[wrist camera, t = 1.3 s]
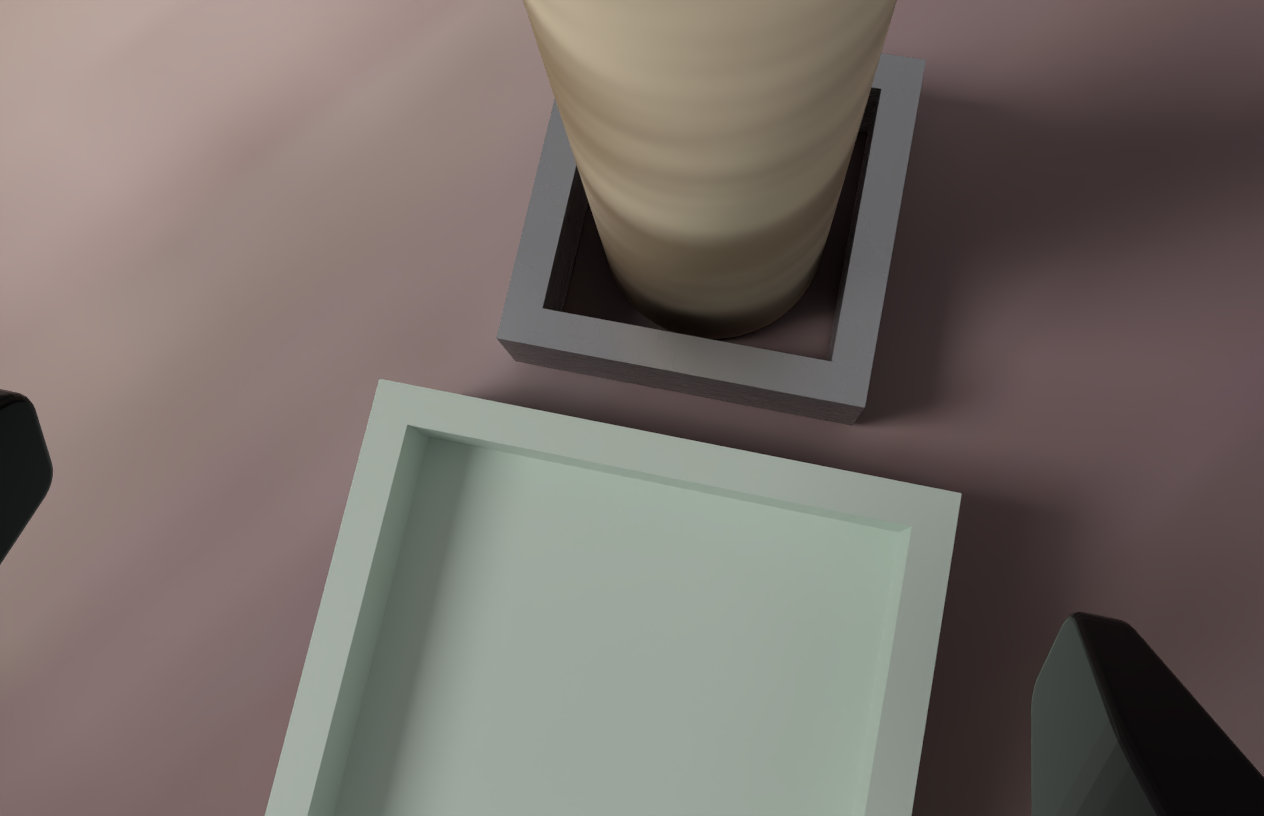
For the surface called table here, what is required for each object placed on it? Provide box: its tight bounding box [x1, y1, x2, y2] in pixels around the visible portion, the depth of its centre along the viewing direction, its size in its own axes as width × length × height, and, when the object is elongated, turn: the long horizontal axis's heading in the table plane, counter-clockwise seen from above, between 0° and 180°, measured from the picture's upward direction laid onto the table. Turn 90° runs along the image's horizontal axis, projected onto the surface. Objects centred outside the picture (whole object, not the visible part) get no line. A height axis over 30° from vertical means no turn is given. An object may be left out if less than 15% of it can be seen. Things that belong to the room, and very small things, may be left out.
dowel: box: [523, 0, 897, 339], centre depth 17 cm, size 5×5×13 cm
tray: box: [265, 379, 962, 816], centre depth 20 cm, size 12×12×2 cm
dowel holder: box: [497, 53, 926, 425], centre depth 22 cm, size 8×8×2 cm
